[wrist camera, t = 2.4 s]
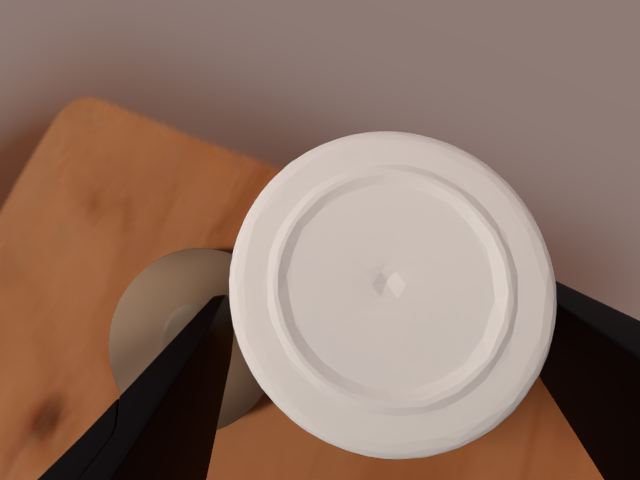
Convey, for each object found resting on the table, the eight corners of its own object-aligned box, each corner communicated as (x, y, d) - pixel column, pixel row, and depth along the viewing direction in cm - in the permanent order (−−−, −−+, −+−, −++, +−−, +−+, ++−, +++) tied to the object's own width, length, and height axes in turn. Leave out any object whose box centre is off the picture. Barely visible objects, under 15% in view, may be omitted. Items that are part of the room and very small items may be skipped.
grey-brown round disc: (318, 357, 16) (316, 366, 14) (174, 454, 16) (158, 473, 14) (234, 220, 17) (224, 215, 16) (103, 306, 17) (81, 309, 16)
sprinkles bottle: (308, 244, 17) (210, 138, 4) (374, 237, 17) (534, 95, 3) (315, 311, 16) (224, 492, 3) (383, 305, 16) (625, 469, 3)
